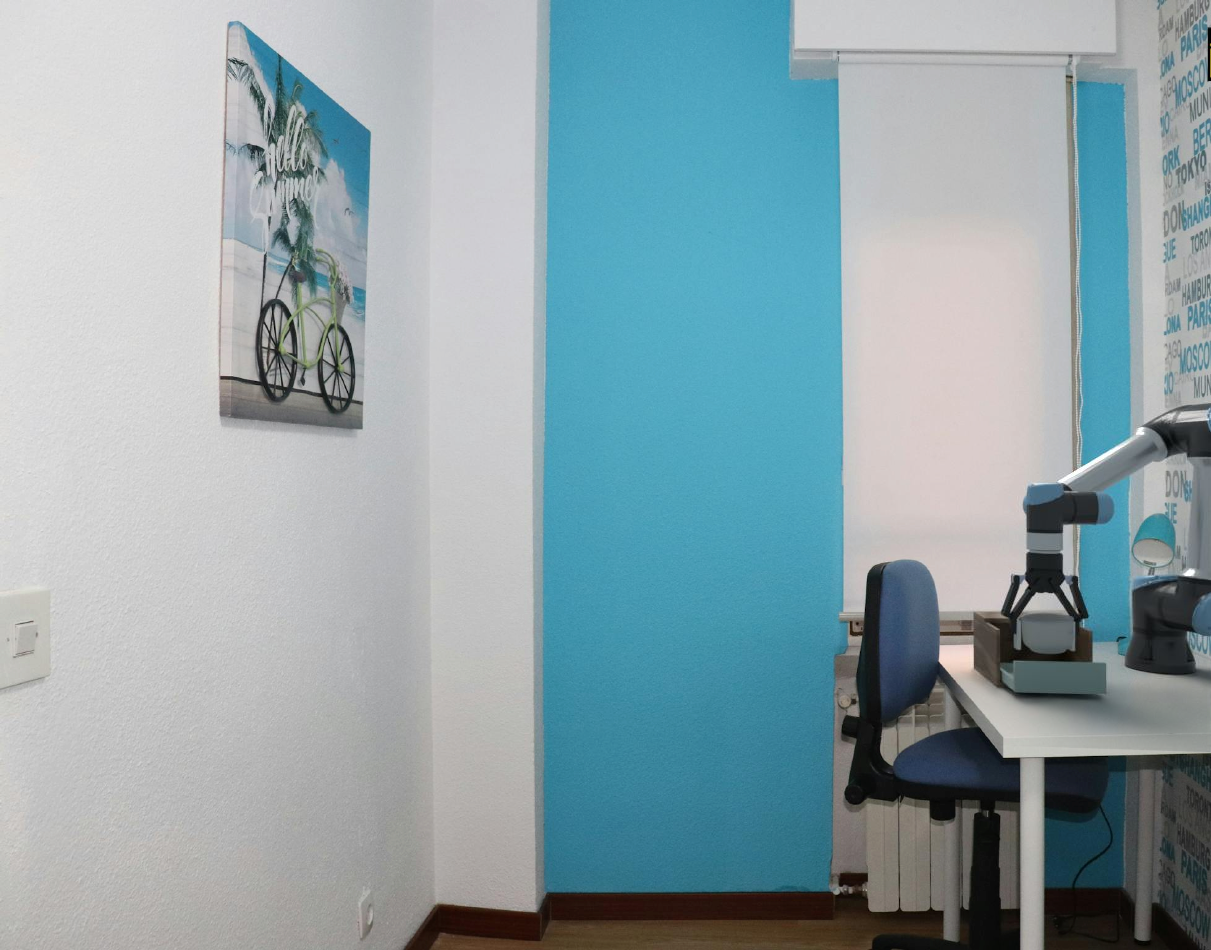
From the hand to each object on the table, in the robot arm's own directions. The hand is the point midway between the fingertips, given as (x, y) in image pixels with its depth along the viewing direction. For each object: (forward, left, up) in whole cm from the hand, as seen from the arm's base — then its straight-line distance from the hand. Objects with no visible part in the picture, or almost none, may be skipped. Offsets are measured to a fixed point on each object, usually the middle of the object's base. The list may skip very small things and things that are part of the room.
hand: (1044, 649), depth 209 cm
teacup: (0, 0, 0) cm, 0 cm away
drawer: (0, 0, -8) cm, 8 cm away
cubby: (0, -10, -9) cm, 14 cm away
